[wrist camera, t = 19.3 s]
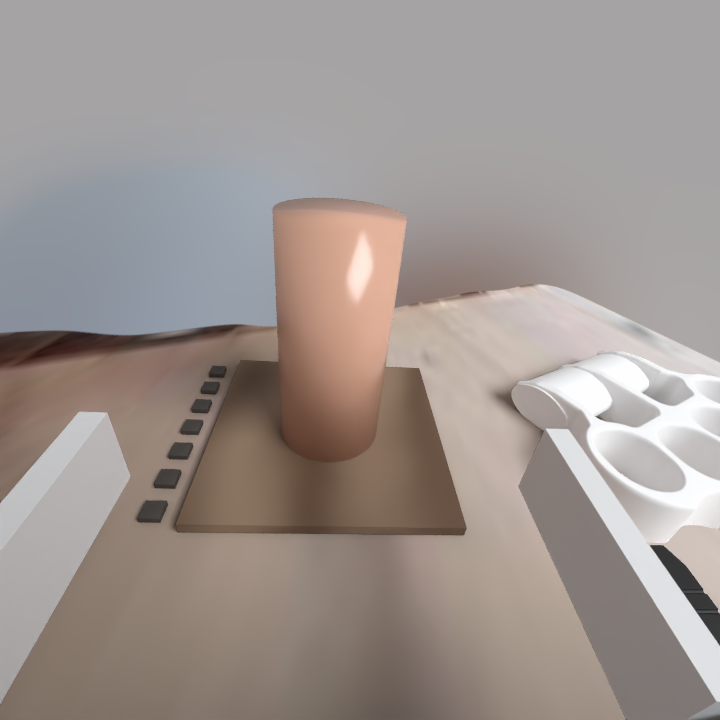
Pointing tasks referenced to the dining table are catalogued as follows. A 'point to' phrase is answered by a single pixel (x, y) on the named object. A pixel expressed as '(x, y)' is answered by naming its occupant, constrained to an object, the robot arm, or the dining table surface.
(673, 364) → the dining table surface
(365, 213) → the canister
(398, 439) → the stub board
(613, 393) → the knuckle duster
